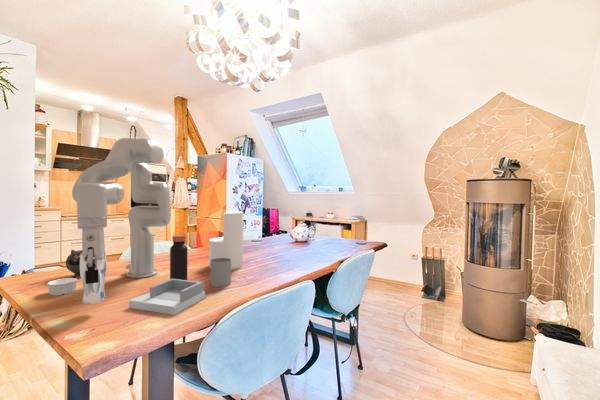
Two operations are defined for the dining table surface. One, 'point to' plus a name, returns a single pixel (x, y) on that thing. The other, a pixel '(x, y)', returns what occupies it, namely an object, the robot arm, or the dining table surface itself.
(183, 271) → the bottle
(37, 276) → the dining table surface
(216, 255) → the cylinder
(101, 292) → the beer glass
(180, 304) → the dock
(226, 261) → the cup
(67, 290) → the ramekin
